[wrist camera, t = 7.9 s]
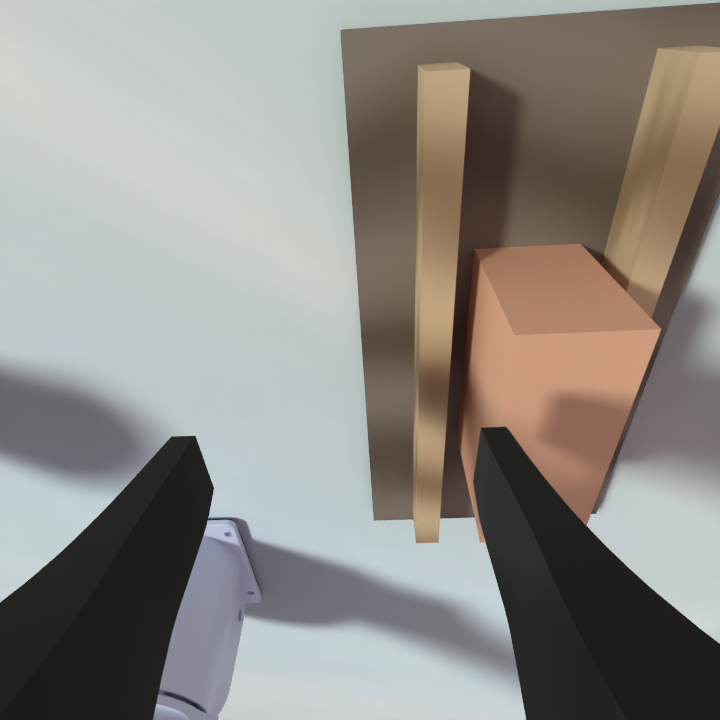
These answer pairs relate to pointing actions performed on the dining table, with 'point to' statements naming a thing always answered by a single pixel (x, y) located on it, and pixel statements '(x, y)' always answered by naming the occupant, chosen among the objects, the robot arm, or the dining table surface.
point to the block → (551, 364)
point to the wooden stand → (513, 197)
